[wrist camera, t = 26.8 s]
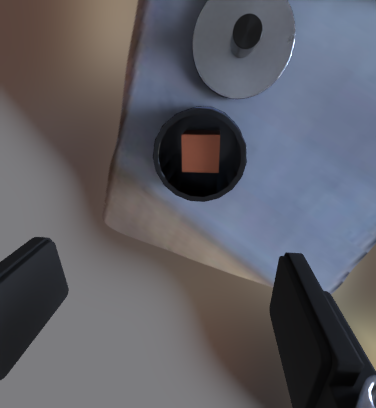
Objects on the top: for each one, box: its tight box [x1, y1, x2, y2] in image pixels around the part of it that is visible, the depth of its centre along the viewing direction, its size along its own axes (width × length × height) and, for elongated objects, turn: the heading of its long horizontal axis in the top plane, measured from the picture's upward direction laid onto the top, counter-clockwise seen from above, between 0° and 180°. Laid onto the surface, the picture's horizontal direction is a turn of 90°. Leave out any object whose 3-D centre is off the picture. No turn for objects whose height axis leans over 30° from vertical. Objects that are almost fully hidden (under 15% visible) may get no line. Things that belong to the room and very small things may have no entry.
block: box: [181, 130, 220, 173], centre depth 32 cm, size 5×5×5 cm
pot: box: [153, 106, 247, 202], centre depth 31 cm, size 11×12×8 cm
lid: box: [193, 0, 295, 99], centre depth 26 cm, size 12×12×7 cm
